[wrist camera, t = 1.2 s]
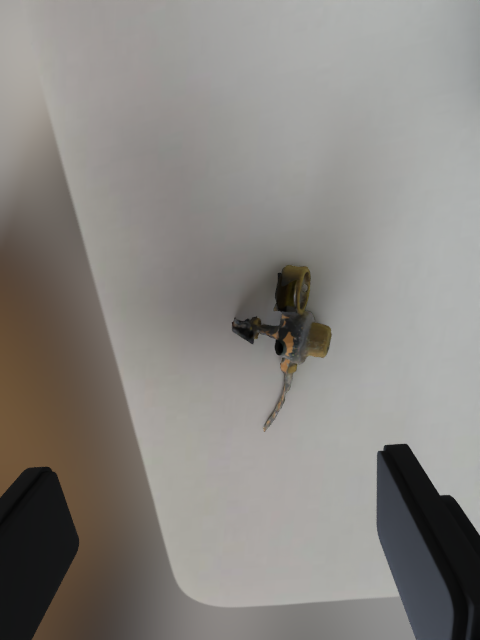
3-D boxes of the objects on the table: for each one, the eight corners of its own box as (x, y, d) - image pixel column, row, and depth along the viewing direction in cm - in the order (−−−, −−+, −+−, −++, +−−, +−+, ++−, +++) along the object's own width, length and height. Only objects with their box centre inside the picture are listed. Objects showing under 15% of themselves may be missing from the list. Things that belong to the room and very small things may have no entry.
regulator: (305, 428, 30) (353, 269, 23) (293, 461, 27) (345, 288, 20) (228, 398, 33) (251, 243, 25) (208, 425, 29) (228, 256, 22)
